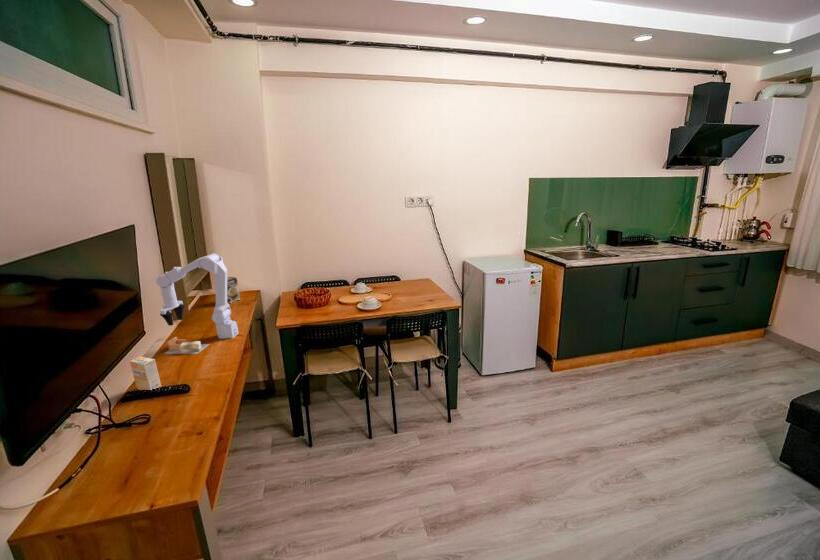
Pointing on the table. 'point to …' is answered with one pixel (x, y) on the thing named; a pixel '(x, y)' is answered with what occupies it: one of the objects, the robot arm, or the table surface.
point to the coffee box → (232, 290)
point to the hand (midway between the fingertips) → (175, 322)
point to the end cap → (175, 344)
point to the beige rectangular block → (190, 346)
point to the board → (187, 352)
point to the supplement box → (145, 373)
